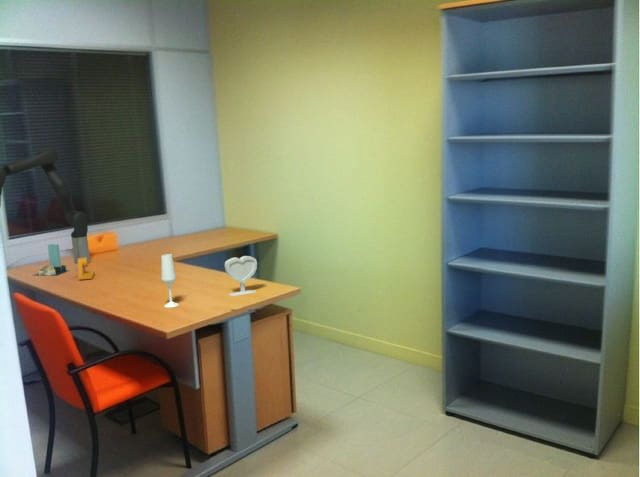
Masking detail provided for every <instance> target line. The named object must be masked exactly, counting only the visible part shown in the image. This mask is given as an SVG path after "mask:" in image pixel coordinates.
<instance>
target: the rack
mask: <svg viewBox="0 0 640 477" xmlns="http://www.w3.org/2000/svg"><path fill="white" fill-rule="evenodd" d="M54 270H55V272H56V274H54V275H39V272H38V273H35V274H33V275H31V276H33V277H34V276H35V277H58V276H60V275H62V274H65V273H68V272H70V271H71V270H70V269H69V270H67V265H63V264H61V267H54Z"/></svg>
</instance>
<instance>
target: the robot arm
mask: <svg viewBox="0 0 640 477" xmlns="http://www.w3.org/2000/svg"><path fill="white" fill-rule="evenodd" d="M58 159H59V156H58V153H57V151H56V150H54V149H52V148H40V149H39V150H38V151H37V152H36V155H34V156H29V157H26V158H21V159H20V158H19V159H18V160H17V159H15V160H13V161H10V162H8V163H5V164H1V165H0V207H2V206H1V205H2V204H1V203H2V193H3V187H4V185H5V182H6V179H7V177H8V176H13V175H16V174H19V173H22V172H25V171H28V170H30V169H34V168H36V167H37V168H38V167H41V168H42V170H43V171H44V173H45V174H46V178H47V179H48V181H49V184H50V185H51V187H52V190H53V192H54V194H55V195H56V197H57V201H58V202H59V203H60V204H59V205H60V206H61V208H62V211H63V215H64V216H65V219H66V221H67V223H68V224H69V225H70V226H73V231H71V233H70V236H71V238H70V239H71V245H72V254H73V262H74V264H78V258H85V257H87V258H88V264H90V263H91V260H90V259H91V258H90V249H89V240H88V231H89V230H88V229H89V228H88V227H89V226H88V218H87V214H86V213H85V212H84V211H79V210H78V211H77V209H76V207H75V205H74V204H73V198H72V197H73V196H72V195H73V194H72V189H71V187H70V185H69V183H68V181H67V179H66V178H65V177H64V176H63V174H62V173H61V172H60V171H59V170H58V169H57V167H56V165H55V163H56V162H57V160H58Z"/></svg>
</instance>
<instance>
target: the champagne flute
mask: <svg viewBox="0 0 640 477" xmlns="http://www.w3.org/2000/svg"><path fill="white" fill-rule="evenodd" d="M160 257H161V258H160V260H161V278H160V280H161V281H162V283H164V284H165V285H166V286H168V299H169V302H167V303H166V304H165V305H163V307H164V308H174V307H175V308H176V307H178V306H179V304H180V303H177V302H174V301H173V296H172V285H173V284H174V283H175V281H176V279H177V274H176V269H175V264H174V259H173V254H172V253H166V254H162V255H161V256H160Z"/></svg>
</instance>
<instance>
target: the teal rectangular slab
mask: <svg viewBox="0 0 640 477" xmlns="http://www.w3.org/2000/svg"><path fill="white" fill-rule="evenodd" d="M47 250H48V258H49V265H54V267H61V265H62V261H61V252H60V245H59V244H54V243H53V244H51V243H49V244H47Z"/></svg>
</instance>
